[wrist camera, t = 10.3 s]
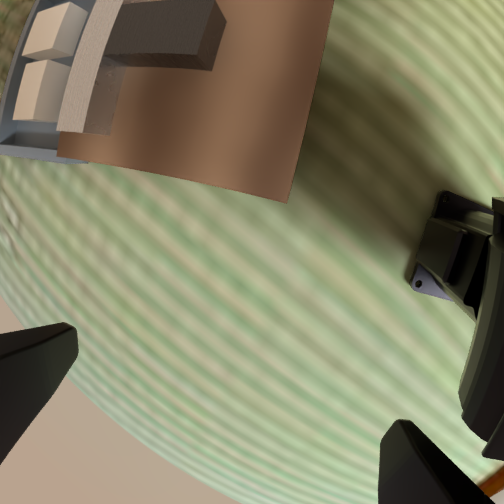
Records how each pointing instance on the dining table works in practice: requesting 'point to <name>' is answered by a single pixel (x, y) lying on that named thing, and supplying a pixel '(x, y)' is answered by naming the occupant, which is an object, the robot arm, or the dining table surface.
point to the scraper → (134, 53)
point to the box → (3, 126)
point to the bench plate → (222, 104)
